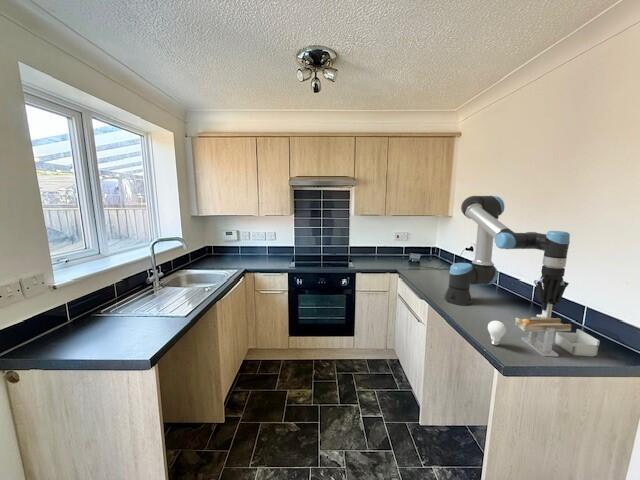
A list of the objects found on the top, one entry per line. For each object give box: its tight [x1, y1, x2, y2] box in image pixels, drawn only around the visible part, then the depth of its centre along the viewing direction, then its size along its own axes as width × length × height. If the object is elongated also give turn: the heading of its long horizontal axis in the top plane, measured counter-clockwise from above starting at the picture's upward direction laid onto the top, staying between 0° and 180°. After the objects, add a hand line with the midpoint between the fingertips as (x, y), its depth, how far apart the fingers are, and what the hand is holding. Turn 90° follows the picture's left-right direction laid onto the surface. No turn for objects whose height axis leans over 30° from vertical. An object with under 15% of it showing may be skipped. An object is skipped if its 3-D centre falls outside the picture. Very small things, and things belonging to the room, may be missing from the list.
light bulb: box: [487, 320, 507, 346], centre depth 114 cm, size 7×7×11 cm
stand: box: [520, 316, 559, 358], centre depth 112 cm, size 13×6×12 cm, turn 175°
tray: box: [553, 328, 600, 357], centre depth 112 cm, size 10×9×7 cm
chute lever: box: [514, 314, 572, 333], centre depth 115 cm, size 14×18×4 cm
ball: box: [522, 318, 531, 325], centre depth 112 cm, size 3×3×3 cm
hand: (546, 316), depth 118 cm, fingers closed
